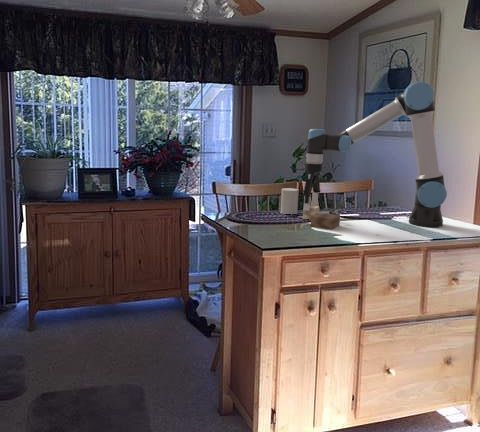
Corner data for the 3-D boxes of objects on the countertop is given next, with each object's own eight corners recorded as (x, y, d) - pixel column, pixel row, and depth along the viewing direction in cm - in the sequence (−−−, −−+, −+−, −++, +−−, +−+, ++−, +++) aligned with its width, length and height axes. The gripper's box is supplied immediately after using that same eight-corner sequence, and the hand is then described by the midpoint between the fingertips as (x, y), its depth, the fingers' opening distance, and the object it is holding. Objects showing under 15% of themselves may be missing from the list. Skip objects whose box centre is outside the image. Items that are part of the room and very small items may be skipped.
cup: (277, 212, 266) (279, 188, 263) (293, 211, 268) (294, 188, 266) (284, 215, 258) (285, 190, 256) (299, 215, 260) (301, 190, 258)
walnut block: (339, 226, 239) (340, 215, 238) (332, 230, 230) (333, 218, 230) (318, 223, 244) (318, 212, 243) (310, 227, 235) (311, 216, 234)
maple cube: (318, 218, 253) (319, 206, 252) (315, 221, 248) (315, 208, 247) (306, 217, 256) (306, 205, 254) (302, 219, 250) (303, 206, 249)
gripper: (313, 160, 259) (309, 203, 263) (298, 164, 237) (294, 211, 241) (328, 161, 257) (324, 205, 261) (315, 165, 234) (311, 213, 238)
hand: (310, 208), depth 251 cm, fingers open, 13 cm apart
